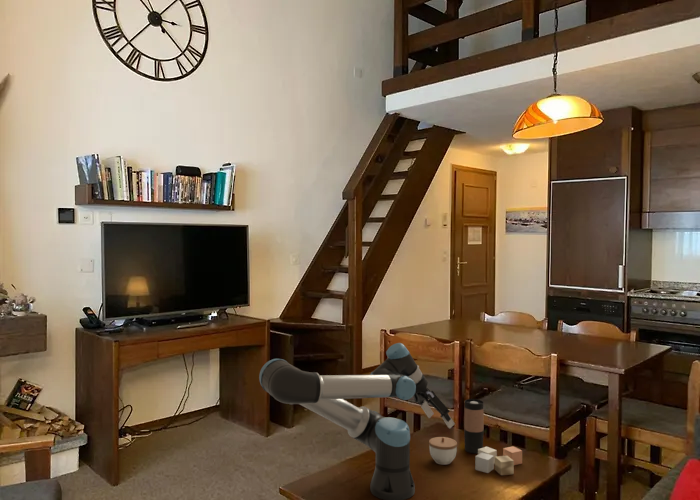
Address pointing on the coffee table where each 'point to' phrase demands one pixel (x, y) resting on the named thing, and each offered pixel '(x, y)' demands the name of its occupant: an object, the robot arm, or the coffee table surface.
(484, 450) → the cube cream
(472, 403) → the travel mug
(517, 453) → the cube terracotta
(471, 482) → the coffee table surface
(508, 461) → the cube maple
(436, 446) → the lidded jar
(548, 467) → the coffee table surface
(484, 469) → the cube grey
